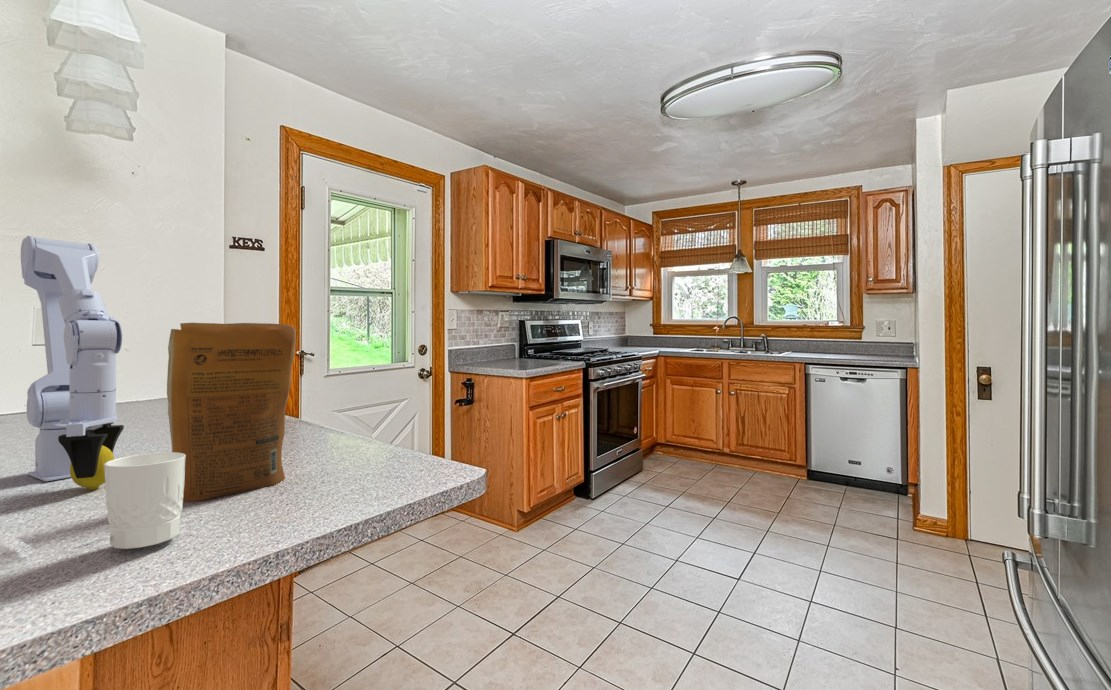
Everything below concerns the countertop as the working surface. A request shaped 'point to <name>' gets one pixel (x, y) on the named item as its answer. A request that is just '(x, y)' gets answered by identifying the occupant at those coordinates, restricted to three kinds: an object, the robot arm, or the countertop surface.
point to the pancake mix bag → (229, 404)
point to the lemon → (99, 476)
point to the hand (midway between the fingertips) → (93, 473)
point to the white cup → (144, 498)
